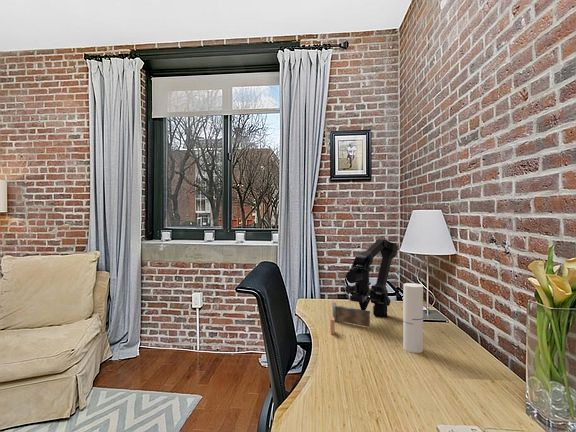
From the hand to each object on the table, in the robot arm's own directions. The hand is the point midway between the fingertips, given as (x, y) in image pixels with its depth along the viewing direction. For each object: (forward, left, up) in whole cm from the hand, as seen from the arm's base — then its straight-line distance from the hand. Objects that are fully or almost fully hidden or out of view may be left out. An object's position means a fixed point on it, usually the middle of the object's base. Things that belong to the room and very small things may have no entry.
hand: (363, 312), depth 159 cm
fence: (+14, +4, -5) cm, 16 cm away
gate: (+5, +4, -4) cm, 8 cm away
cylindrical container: (-15, +30, -5) cm, 34 cm away
